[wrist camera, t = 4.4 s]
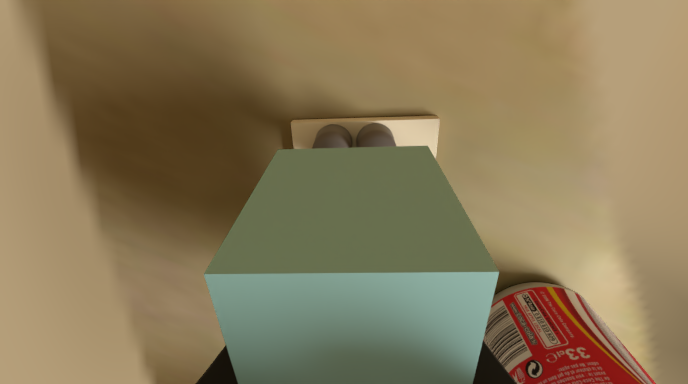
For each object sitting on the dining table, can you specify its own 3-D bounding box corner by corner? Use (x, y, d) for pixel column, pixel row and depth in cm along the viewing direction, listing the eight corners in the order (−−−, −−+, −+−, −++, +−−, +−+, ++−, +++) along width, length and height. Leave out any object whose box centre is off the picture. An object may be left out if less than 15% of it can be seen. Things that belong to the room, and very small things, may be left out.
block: (277, 149, 10) (203, 273, 5) (427, 145, 10) (499, 271, 5) (307, 357, 15) (283, 527, 10) (409, 358, 15) (437, 531, 10)
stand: (424, 249, 19) (435, 285, 17) (307, 250, 20) (300, 286, 17) (437, 115, 16) (453, 134, 13) (292, 119, 16) (280, 139, 13)
